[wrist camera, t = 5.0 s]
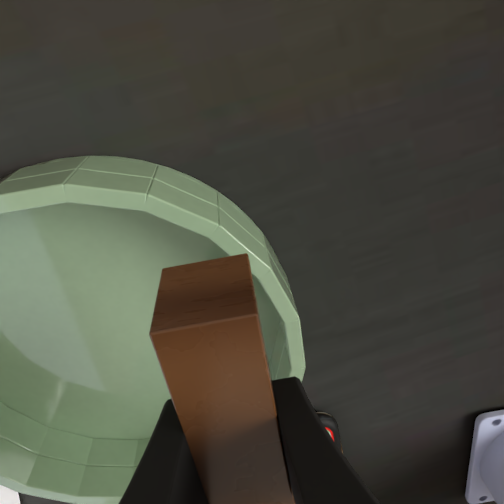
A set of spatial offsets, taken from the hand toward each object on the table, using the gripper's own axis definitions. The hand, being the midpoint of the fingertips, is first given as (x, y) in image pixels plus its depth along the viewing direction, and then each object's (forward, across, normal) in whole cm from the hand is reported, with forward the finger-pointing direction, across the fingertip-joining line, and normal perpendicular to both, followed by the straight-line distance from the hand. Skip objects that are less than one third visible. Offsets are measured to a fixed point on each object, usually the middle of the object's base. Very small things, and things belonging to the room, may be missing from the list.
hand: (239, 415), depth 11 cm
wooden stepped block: (+1, 0, +1) cm, 2 cm away
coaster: (+8, +17, +9) cm, 21 cm away
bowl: (+8, +5, +2) cm, 10 cm away
